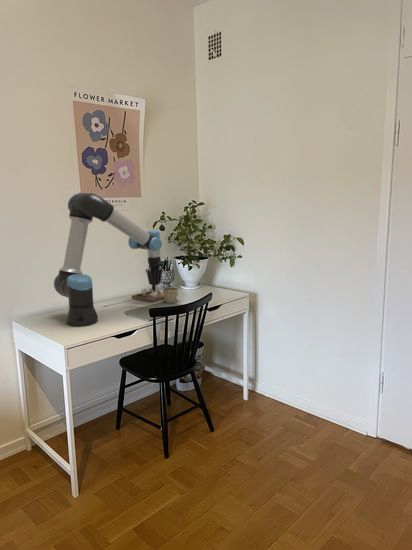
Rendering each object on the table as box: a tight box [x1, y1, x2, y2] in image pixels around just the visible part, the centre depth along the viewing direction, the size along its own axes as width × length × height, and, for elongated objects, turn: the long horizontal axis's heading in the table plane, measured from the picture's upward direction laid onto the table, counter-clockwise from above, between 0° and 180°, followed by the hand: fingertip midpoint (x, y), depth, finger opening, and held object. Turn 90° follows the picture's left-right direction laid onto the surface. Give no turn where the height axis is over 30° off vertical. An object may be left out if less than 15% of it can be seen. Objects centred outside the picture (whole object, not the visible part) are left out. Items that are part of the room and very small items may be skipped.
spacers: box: [141, 284, 162, 299], centre depth 256 cm, size 17×14×5 cm
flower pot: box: [161, 286, 179, 304], centre depth 245 cm, size 9×9×9 cm
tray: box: [131, 291, 179, 304], centre depth 256 cm, size 22×17×3 cm
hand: (155, 295), depth 255 cm, fingers closed
